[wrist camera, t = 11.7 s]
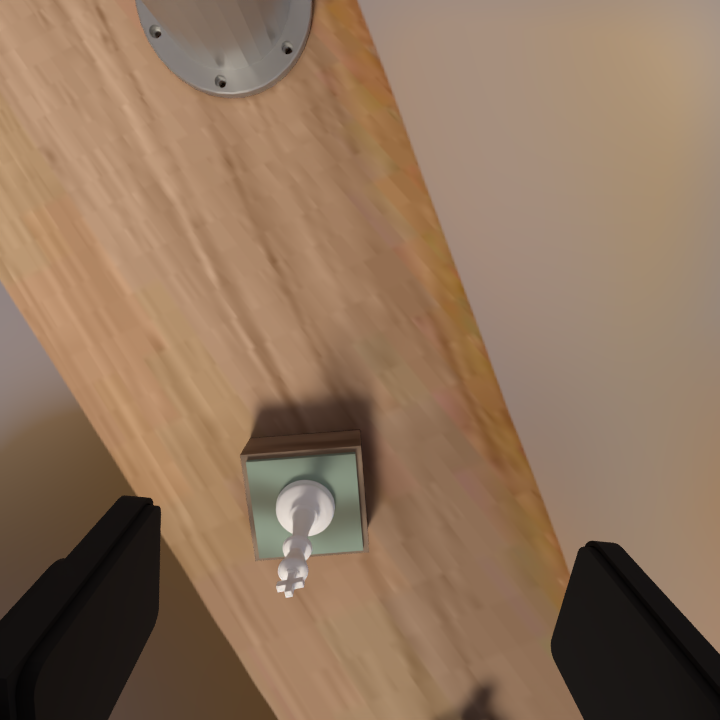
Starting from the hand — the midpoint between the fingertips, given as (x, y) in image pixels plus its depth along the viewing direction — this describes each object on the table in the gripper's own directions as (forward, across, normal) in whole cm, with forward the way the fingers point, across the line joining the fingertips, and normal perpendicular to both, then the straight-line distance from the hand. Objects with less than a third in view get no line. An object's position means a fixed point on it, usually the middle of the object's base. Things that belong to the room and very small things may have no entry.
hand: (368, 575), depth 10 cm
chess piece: (+25, +2, +15) cm, 29 cm away
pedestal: (+28, +2, +15) cm, 32 cm away
